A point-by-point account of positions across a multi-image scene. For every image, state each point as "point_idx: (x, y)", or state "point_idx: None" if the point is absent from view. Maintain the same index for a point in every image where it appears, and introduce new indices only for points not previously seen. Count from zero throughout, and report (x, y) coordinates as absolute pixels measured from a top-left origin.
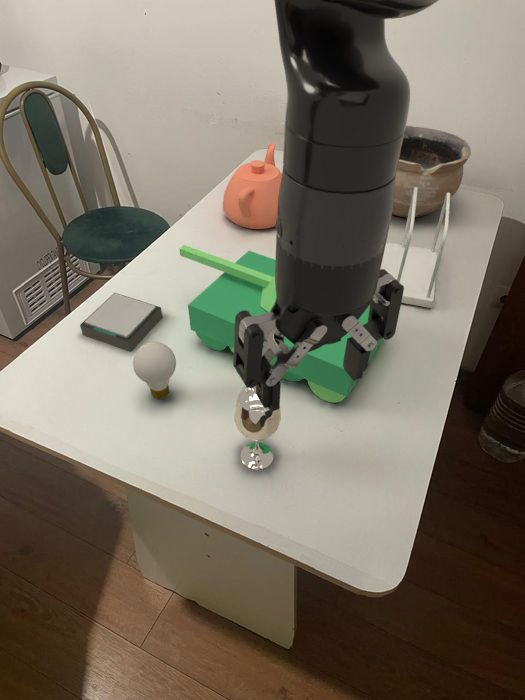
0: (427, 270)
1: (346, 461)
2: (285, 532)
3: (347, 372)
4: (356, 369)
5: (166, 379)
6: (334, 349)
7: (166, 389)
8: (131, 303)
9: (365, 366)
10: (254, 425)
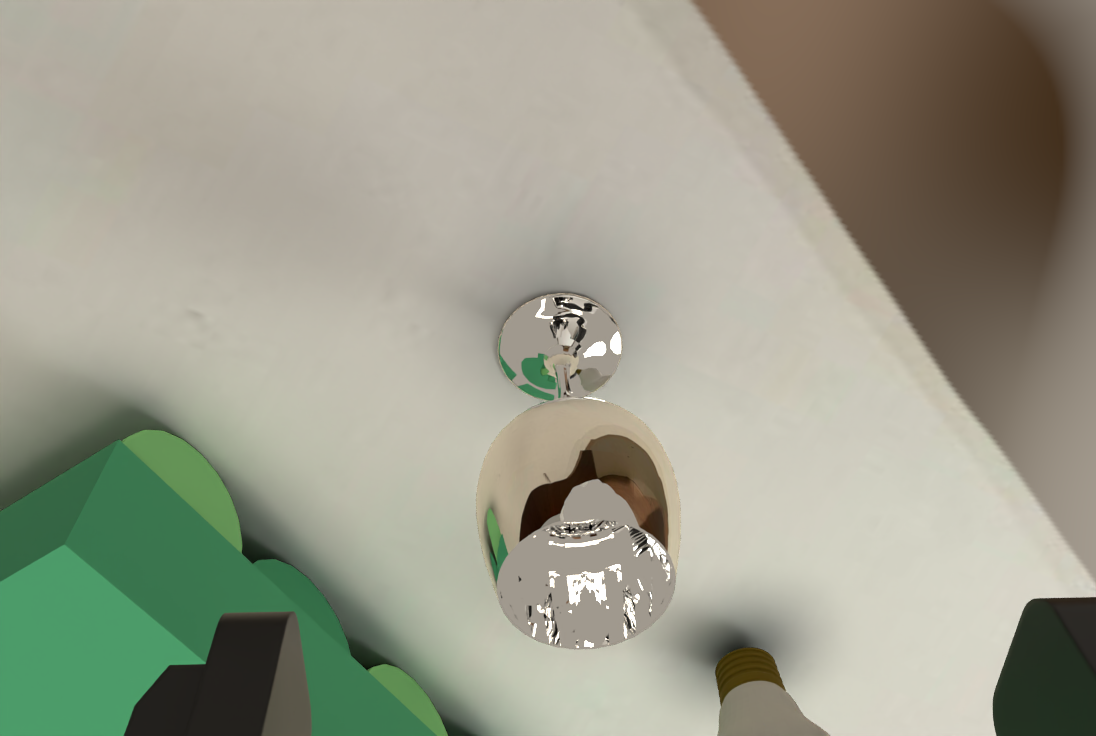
0: None
1: (239, 189)
2: (623, 23)
3: (306, 687)
4: (268, 728)
5: (764, 724)
6: (90, 660)
7: (737, 676)
8: None
9: (153, 719)
10: (641, 471)
